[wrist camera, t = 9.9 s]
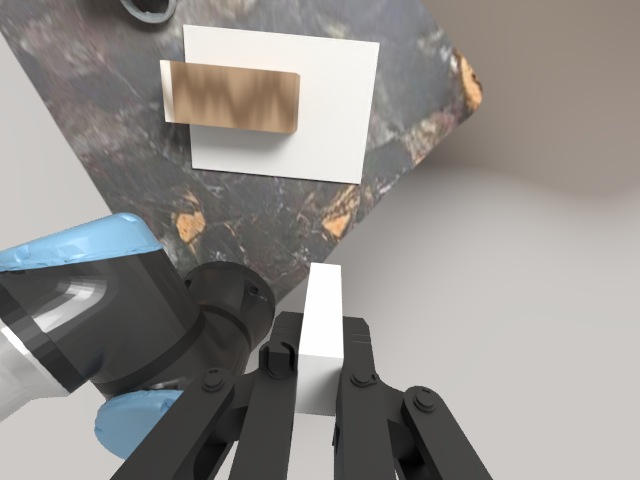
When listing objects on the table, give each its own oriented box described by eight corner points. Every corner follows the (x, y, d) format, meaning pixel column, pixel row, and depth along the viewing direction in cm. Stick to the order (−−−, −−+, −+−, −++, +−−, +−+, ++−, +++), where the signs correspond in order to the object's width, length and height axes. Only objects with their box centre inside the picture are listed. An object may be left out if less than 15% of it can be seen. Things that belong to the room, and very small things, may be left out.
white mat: (360, 183, 44) (360, 183, 43) (193, 167, 44) (192, 167, 44) (379, 43, 37) (379, 42, 37) (184, 25, 38) (183, 24, 37)
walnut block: (292, 133, 36) (165, 121, 37) (297, 129, 41) (184, 118, 41) (295, 72, 34) (159, 59, 34) (300, 75, 39) (180, 64, 39)
